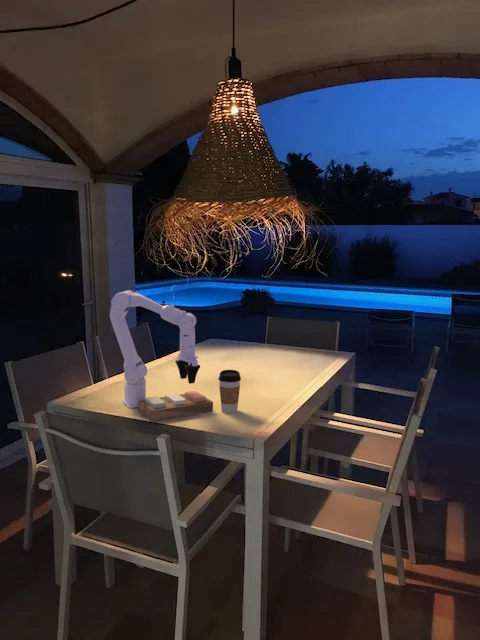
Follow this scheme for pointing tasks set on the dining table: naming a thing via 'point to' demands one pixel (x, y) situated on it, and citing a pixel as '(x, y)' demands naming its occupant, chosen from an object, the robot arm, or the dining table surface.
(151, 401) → the sage button
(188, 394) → the terracotta button
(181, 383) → the dining table surface
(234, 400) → the coffee cup
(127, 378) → the robot arm
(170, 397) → the cream button
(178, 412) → the button board
